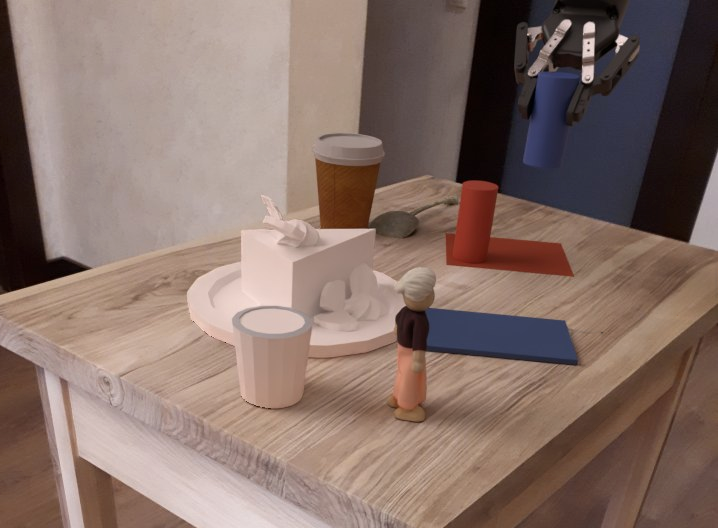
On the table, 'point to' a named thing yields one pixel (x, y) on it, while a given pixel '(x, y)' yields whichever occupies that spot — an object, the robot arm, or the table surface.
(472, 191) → the red cylinder
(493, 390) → the table surface
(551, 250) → the red mat
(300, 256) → the dish
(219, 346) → the table surface
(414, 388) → the grandmother figurine
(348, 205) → the disposable coffee cup
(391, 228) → the soupspoon
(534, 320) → the blue mat
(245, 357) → the white tapered cup
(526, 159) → the blue cylinder
